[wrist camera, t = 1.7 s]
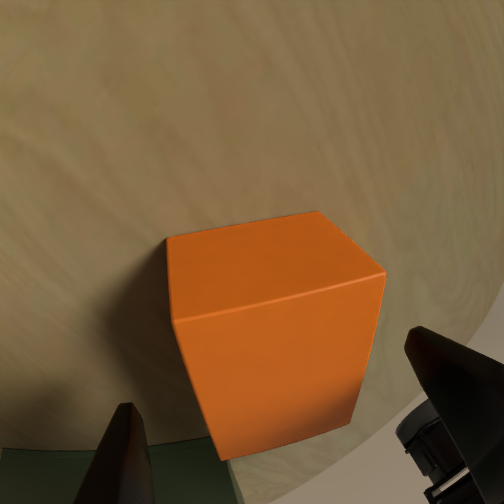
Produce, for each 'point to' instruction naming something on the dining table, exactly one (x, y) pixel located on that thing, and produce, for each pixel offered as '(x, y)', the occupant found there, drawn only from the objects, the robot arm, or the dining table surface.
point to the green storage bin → (163, 471)
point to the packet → (273, 327)
